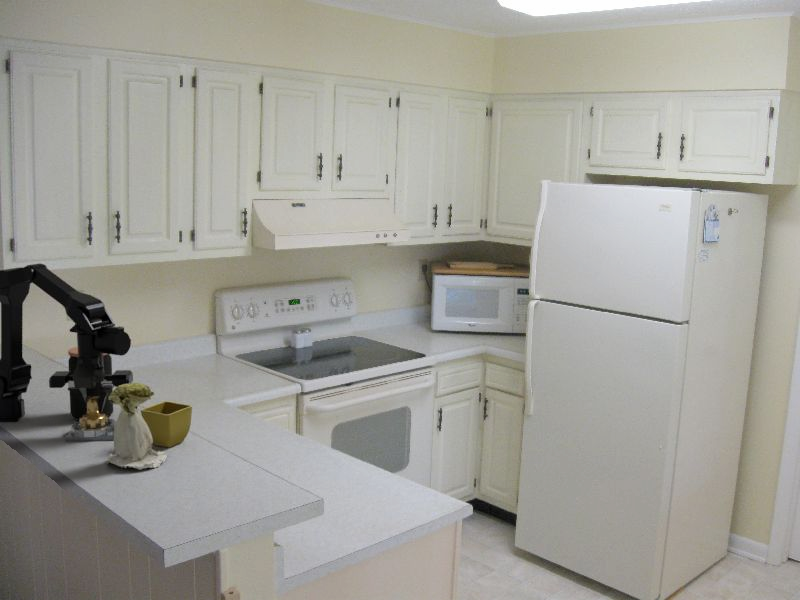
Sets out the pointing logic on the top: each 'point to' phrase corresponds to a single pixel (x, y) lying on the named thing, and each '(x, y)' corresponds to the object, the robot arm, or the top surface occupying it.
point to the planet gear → (93, 414)
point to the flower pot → (168, 422)
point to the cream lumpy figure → (133, 429)
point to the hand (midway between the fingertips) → (93, 412)
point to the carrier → (92, 432)
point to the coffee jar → (74, 401)
